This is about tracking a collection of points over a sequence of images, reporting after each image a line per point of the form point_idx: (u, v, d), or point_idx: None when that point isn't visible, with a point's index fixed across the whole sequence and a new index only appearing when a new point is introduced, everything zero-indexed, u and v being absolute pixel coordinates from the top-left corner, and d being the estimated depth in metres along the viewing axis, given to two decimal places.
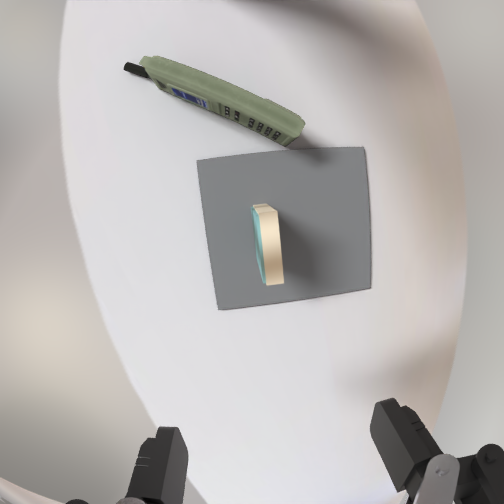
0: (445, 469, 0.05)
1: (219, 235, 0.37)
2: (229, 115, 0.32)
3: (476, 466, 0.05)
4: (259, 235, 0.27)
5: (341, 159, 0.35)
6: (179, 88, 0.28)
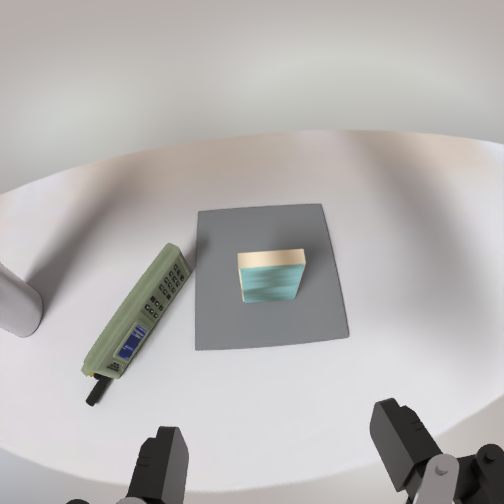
0: (444, 469, 0.05)
1: (271, 333, 0.36)
2: (156, 312, 0.36)
3: (475, 467, 0.05)
4: (258, 268, 0.30)
5: (208, 228, 0.44)
6: (120, 345, 0.31)
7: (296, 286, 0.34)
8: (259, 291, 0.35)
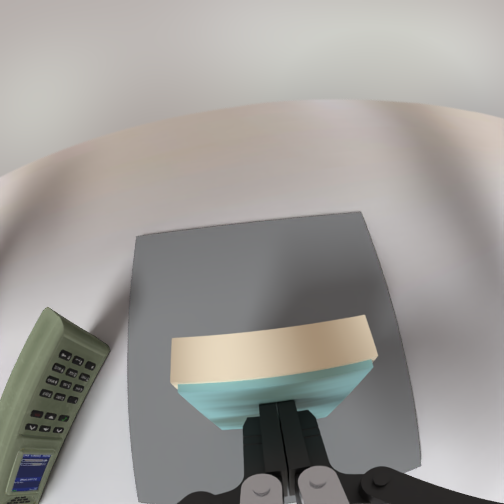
0: (321, 482, 0.06)
1: None
2: (56, 427, 0.14)
3: (367, 494, 0.06)
4: (233, 385, 0.09)
5: (151, 269, 0.22)
6: (9, 481, 0.09)
7: (337, 402, 0.12)
8: None
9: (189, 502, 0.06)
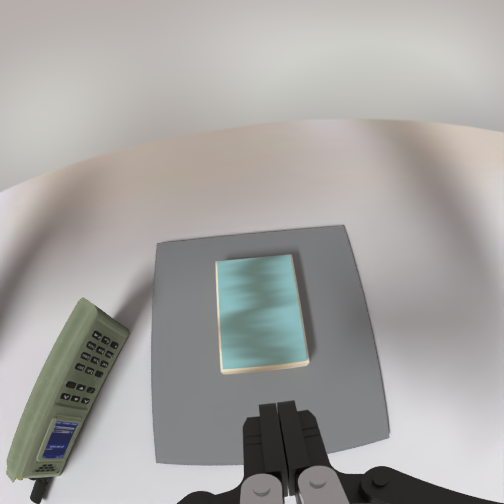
0: (321, 482, 0.06)
1: None
2: (84, 398, 0.20)
3: (367, 494, 0.06)
4: None
5: (170, 271, 0.28)
6: (41, 447, 0.14)
7: (297, 309, 0.23)
8: (243, 322, 0.23)
9: (189, 502, 0.06)
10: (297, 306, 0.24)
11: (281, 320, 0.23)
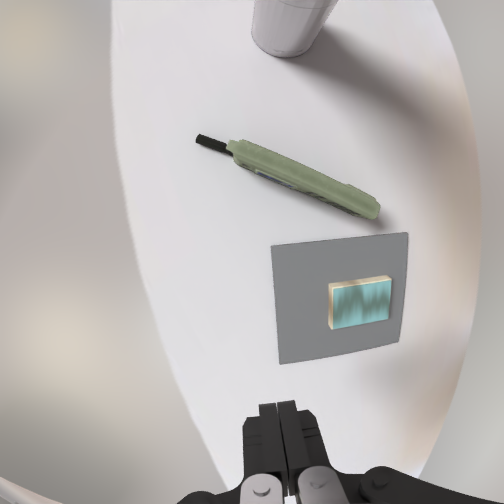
0: (321, 482, 0.06)
1: (287, 309, 0.43)
2: (310, 194, 0.38)
3: (367, 494, 0.06)
4: (390, 291, 0.41)
5: (389, 245, 0.41)
6: (270, 175, 0.33)
7: (359, 323, 0.42)
8: (356, 298, 0.41)
9: (189, 502, 0.06)
10: (360, 323, 0.42)
11: (355, 316, 0.41)
